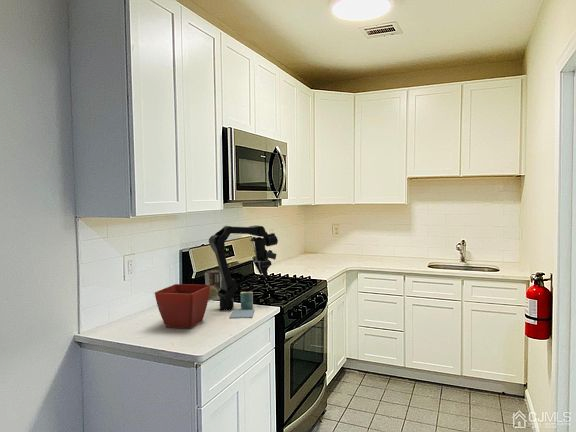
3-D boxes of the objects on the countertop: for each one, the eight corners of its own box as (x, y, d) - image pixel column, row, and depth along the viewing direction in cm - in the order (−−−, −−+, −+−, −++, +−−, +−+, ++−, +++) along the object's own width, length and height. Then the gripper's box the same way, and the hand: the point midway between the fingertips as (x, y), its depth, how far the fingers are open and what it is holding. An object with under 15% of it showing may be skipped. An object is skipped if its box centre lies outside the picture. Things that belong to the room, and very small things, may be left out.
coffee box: (224, 297, 245) (223, 270, 245) (221, 300, 239) (220, 272, 238) (208, 297, 246) (207, 270, 246) (205, 300, 240) (204, 272, 239)
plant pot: (176, 317, 209) (175, 283, 208) (212, 319, 204) (210, 284, 203) (155, 329, 190) (153, 292, 189) (193, 331, 185) (192, 294, 184)
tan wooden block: (240, 310, 217) (240, 293, 217) (241, 309, 220) (241, 292, 220) (252, 310, 217) (252, 293, 217) (253, 308, 220) (252, 291, 220)
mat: (229, 318, 204) (229, 317, 204) (232, 311, 216) (232, 310, 216) (252, 317, 204) (252, 316, 204) (254, 310, 216) (254, 309, 216)
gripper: (278, 248, 225) (282, 276, 227) (269, 243, 243) (272, 270, 244) (258, 251, 222) (262, 280, 223) (250, 246, 239) (253, 273, 241)
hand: (263, 275), depth 233 cm, fingers open, 9 cm apart
